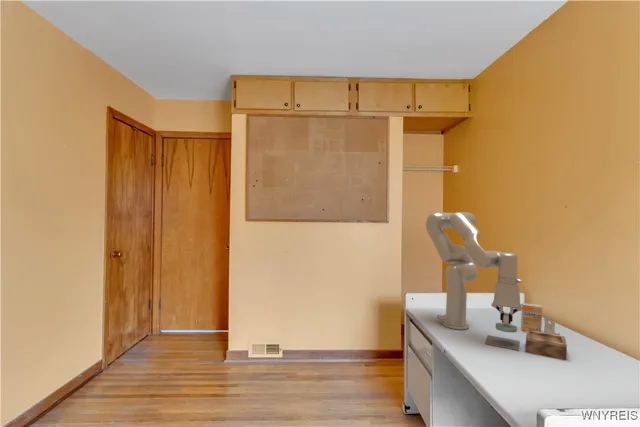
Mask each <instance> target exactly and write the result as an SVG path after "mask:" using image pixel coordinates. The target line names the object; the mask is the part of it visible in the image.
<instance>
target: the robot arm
mask: <svg viewBox="0 0 640 427" xmlns="http://www.w3.org/2000/svg"><path fill="white" fill-rule="evenodd" d="M476 224H477V219H476V216H475V215H474V214H473V213H472V212H471V213H470V212H463V211H457V212H443V211H441V212H440V211H439V212H433V213H430V214H429V215H428V216H427V218H426V221H425V228H426V229H425V230H426V232H427V234H428V236H429V237H430V240H431V241H432V243H433V245H434V247H435V249H436V251H437V254H438V256H439V257H440V259H441V261H442V262H443V263H446V264H449V265H448V266H447V267H446V269H445V280H446V300H445V301H446V304H445V314H444V315H441V314H437V315H436V318H437V319H438V320H441V321H442V322H441V323H442V325H443V326H444V327H446V328H448V329H453V330H458V331H459V330H468V329H469V328H470V324H468V323H467V298H468V297H467V295H468V294H467V293H468V292H467V287H466V285H465V284H466V283H467V282H473V281H476V279H477V278H478V276H479V271H478V268H477V266H479V267H480V268H483V269H486V268H497V282H495V286H494V293H493V295H494V296H493V300H492V303H491V307H492V308H495V309H496V310H497V311H498V312H499V314H500V318H499V319H500V321H501V323H503V316H504V308H509V309H510V310H509V312H508V313H509V324H511V322H512V323H513V315H514V314H516V313H517V312H522V310H523V308H522V304H521V291H520V290H521V289H520V285H519V284H518V283H522V279H519V278H518V259H519V258H518V255H517V254H516V253H513V252H503V251H498V250H485V249H484V248H483V247H482V246H481V245H480V244H479V242H478V239H479V238H480V236H481V230H479V228H478V227H477V226H476ZM443 229H454V231H455V232H456V233H457V235H459V236H460V237H461V239H462V240H463V242H464V244H465V245H461V244H453V242H452V241H451V238H450V236H449V235H448V234H447V232H445V230H443Z"/></svg>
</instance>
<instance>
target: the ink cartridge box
mask: <svg viewBox="0 0 640 427" xmlns="http://www.w3.org/2000/svg"><path fill="white" fill-rule="evenodd" d="M543 322H544V327H543V328H544V329H543V333H547V334H553V335H559V336H561V334H560V332H558V331H557V330H556V328H555V327H556V326H555V325H556V324H555V323H556V322H554V321H553V320H551V319H550V318H548V317H546V316H545V315H544V316H543Z"/></svg>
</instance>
